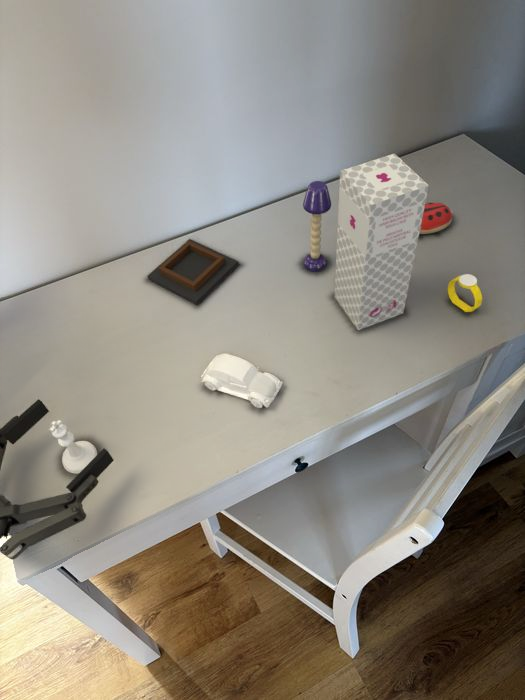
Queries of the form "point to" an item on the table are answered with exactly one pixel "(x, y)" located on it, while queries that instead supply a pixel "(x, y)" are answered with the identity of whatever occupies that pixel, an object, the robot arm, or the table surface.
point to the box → (377, 238)
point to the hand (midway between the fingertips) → (75, 428)
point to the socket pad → (193, 271)
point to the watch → (468, 283)
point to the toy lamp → (316, 222)
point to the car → (241, 380)
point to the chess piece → (73, 449)
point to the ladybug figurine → (435, 218)
